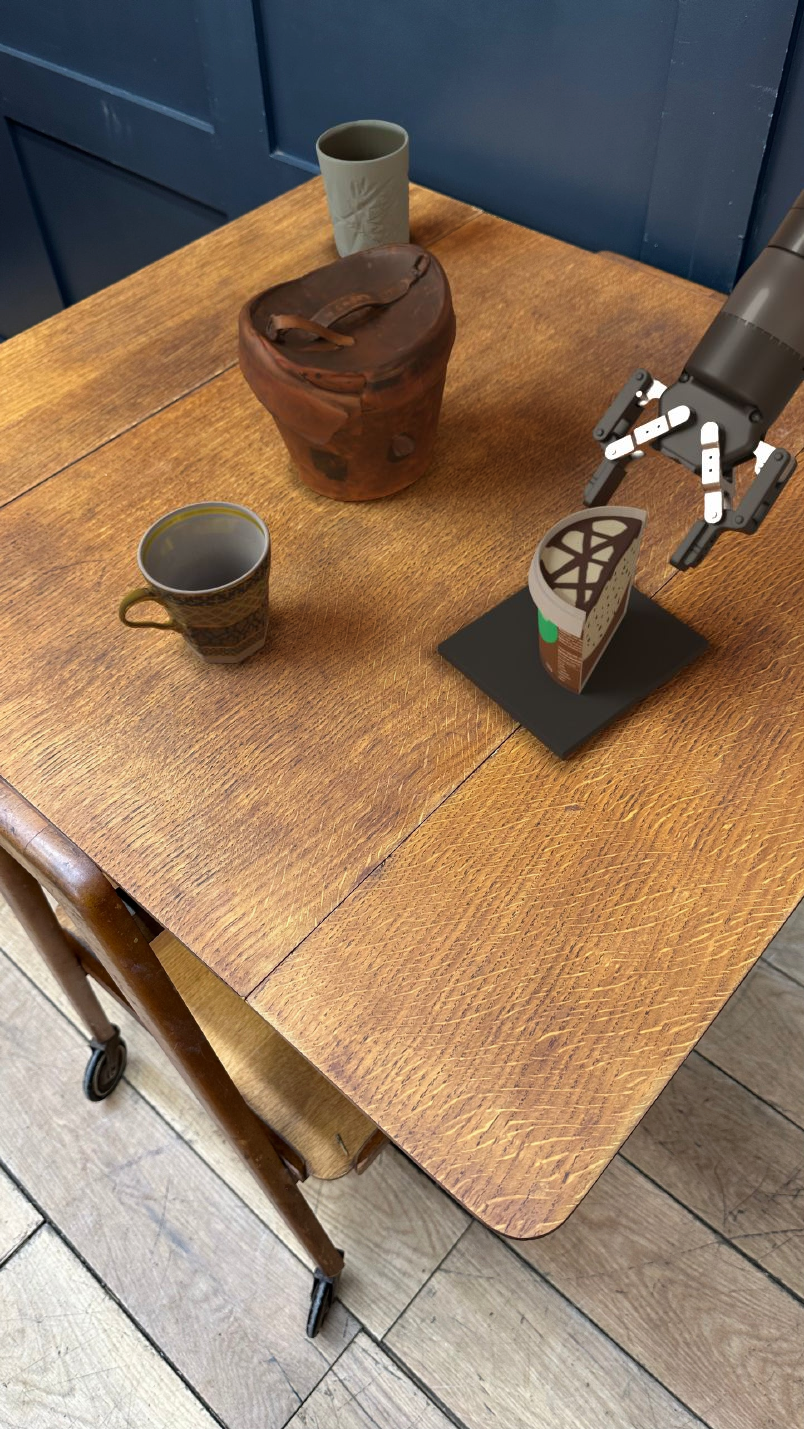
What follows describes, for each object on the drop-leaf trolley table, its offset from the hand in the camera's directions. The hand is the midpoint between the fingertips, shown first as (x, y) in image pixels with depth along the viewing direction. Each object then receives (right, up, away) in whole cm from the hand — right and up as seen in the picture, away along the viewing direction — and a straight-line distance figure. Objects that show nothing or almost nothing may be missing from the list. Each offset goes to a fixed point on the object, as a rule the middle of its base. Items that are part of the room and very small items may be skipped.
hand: (632, 538), depth 76 cm
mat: (-4, -8, +6) cm, 10 cm away
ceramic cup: (-32, -7, +8) cm, 34 cm away
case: (-21, +11, +21) cm, 32 cm away
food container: (-4, -7, +5) cm, 10 cm away
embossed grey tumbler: (-21, +42, +45) cm, 65 cm away
